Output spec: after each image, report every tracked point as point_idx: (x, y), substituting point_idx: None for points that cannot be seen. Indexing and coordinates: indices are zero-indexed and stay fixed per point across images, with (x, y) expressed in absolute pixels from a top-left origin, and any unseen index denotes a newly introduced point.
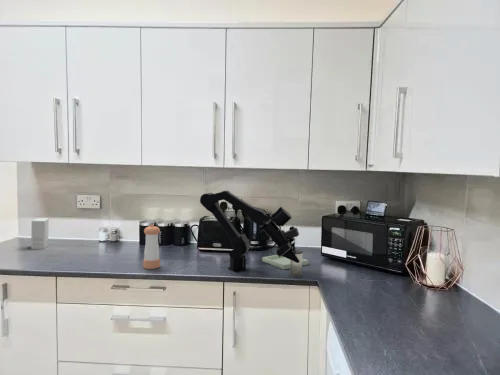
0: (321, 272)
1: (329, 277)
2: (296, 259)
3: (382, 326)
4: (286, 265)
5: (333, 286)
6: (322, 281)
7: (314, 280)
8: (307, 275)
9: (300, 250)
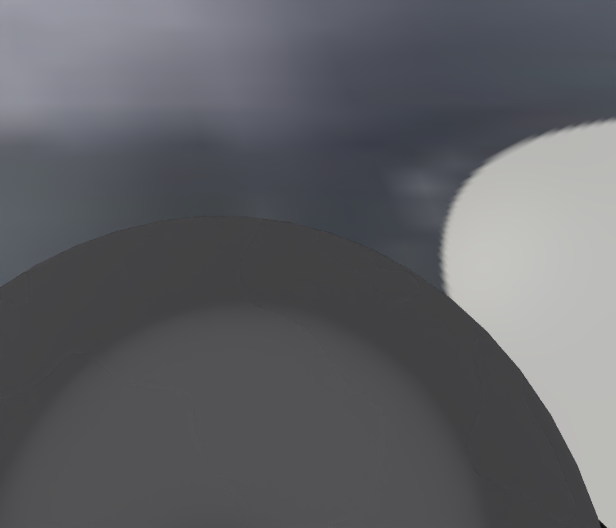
0: (81, 133)
1: (266, 51)
2: None
3: None
4: None
5: (575, 19)
6: (446, 120)
7: (443, 209)
8: None
9: (208, 343)
